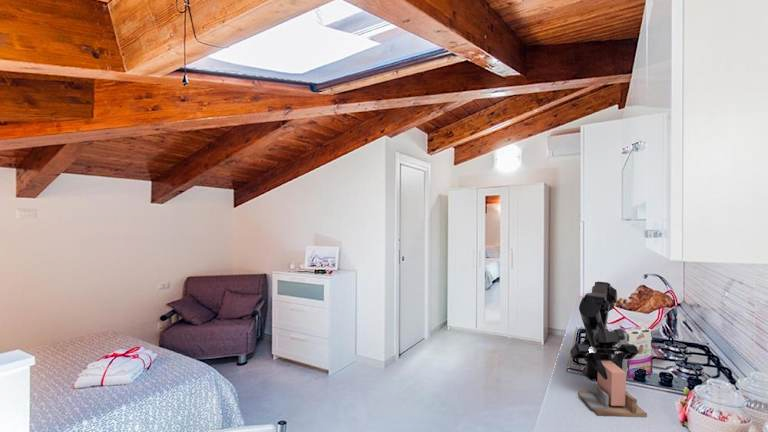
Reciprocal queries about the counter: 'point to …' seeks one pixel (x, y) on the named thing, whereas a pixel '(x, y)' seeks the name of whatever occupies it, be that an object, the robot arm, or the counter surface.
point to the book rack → (602, 407)
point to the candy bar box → (644, 345)
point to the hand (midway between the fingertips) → (613, 379)
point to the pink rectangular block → (613, 383)
